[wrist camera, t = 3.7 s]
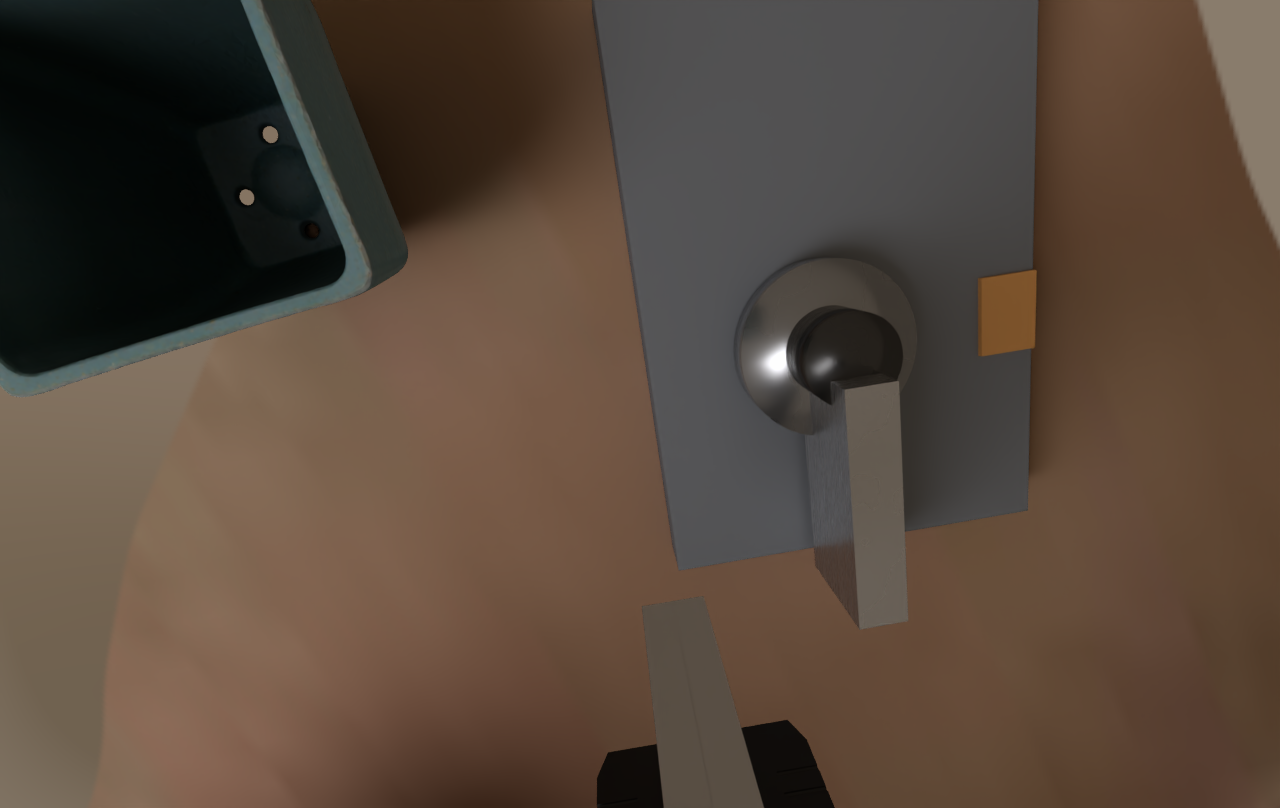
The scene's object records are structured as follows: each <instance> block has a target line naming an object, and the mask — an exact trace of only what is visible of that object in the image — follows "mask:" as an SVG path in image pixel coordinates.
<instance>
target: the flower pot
mask: <svg viewBox="0 0 1280 808" xmlns="http://www.w3.org/2000/svg"><path fill="white" fill-rule="evenodd" d="M267 126H272V127H274V128H275V129H276V130H277V132H278V139H277V141H276V142H275V143H268V142H267V141H266V140H265V139H264V138H263V130H264V128H265V127H267ZM244 189H247V190H250V191H251V192H252V193H253V194H254V202H253V204H251V205H245V204H243V203H242V202H241V200H240V198H239V195H240V192H241V191H242V190H244ZM309 223H312V224H315V225H316V226H317V227H318V228H319V234H318V236H317V237H315V238H310V237H308V236H307V235H306V234H305V232H304V229H305V226H306V225H307V224H309ZM407 258H408V249H407V244H406V241H405V237H404V234H403V232H402V229H401V227H400V224H399V222H398V220H397V217H396V215H395V212H394V210H393V207H392V205H391V202H390V200H389V197H388V195H387V192H386V190H385V187H384V185H383V182H382V179H381V177H380V174H379V172H378V169H377V167H376V164H375V161H374V159H373V156H372V154H371V151H370V149H369V146H368V144H367V141H366V138H365V136H364V133H363V131H362V128H361V125H360V123H359V120H358V118H357V115H356V113H355V110H354V107H353V105H352V102H351V100H350V97H349V95H348V92H347V89H346V87H345V84H344V82H343V79H342V76H341V74H340V71H339V69H338V66H337V63H336V61H335V58H334V55H333V52H332V50H331V47H330V44H329V42H328V39H327V37H326V34H325V31H324V29H323V26H322V23H321V21H320V19H319V17H318V15H317V12H316V10H315V8H314V6H313V4H312V2H311V0H0V386H1V387H2V388H3V389H4V390H5V391H6V392H7V393H9V394H10V395H12V396H16V397H27V396H33V395H37V394H41V393H45V392H48V391H51V390H54V389H56V388H59V387H62V386H65V385H67V384H70V383H73V382H77V381H80V380H83V379H86V378H89V377H92V376H95V375H99V374H102V373H105V372H108V371H111V370H114V369H118V368H120V367H123V366H125V365H129V364H132V363H135V362H139V361H142V360H145V359H149V358H151V357H155V356H158V355H161V354H164V353H167V352H170V351H173V350H177V349H180V348H184V347H187V346H190V345H194V344H196V343H199V342H202V341H206V340H209V339H213V338H216V337H219V336H223V335H226V334H229V333H232V332H235V331H238V330H242V329H245V328H248V327H252V326H255V325H258V324H262V323H265V322H268V321H272V320H275V319H279V318H282V317H286V316H289V315H292V314H295V313H298V312H303V311H306V310H309V309H312V308H317V307H320V306H325V305H329V304H332V303H335V302H339V301H342V300H345V299H348V298H351V297H354V296H357V295H359V294H361V293H363V292H366V291H367V290H369V289H371V288H373V287H375V286H377V285H378V284H380V283H382V282H383V281H385V280H387V279H389V278H390V277H392V276H393V275H395V274H396V273H398V272H399V271H400V270H401V269H402V268H403V267H404V265H405V264H406V261H407Z"/></svg>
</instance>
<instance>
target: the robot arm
mask: <svg viewBox="0 0 1280 808" xmlns="http://www.w3.org/2000/svg"><path fill="white" fill-rule="evenodd" d="M642 612H643V621H644V630H645V639H646V648H647V658H648V667H649V676H650V685H651V694H652V703H653V712H654V722H655V731H656V740H657V744H655V745H649V746H643V747H637V748H632V749H626V750H620V751H614V752H608V754H607V756H606V758H605V761H604V763H603V765H602V768H601V770H600V772H599V775H598V777H597V808H835V807H834V805H833V803H832V800H831V798H830V795H829V793H828V791H827V790H826V786H825V783H824V781H823V778H822V776H821V773H820V771H819V770H818V768H817V764H816V761H815V759H814V756H813V754H812V751H811V749H810V747H809V744H808V742H807V739H806V738H805V737H804V736H803V735H802V734H801V733H800V732H799V731H798V730H797V729H796V728H795V727H794V726H793V725H792V724H791V723H790V722H789V721H788V720H784V721H778V722H772V723H766V724H761V725H755V726H749V727H743V728H741V726H740V723H739V719H738V716H737V712H736V709H735V705H734V702H733V698H732V695H731V691H730V688H729V684H728V681H727V677H726V674H725V670H724V667H723V663H722V660H721V656H720V653H719V649H718V646H717V642H716V639H715V635H714V632H713V628H712V625H711V621H710V618H709V614H708V611H707V607H706V604H705V600H704V597H703V596H701V597H695V598H689V599H683V600H677V601H671V602H665V603H659V604H653V605H647V606H642Z"/></svg>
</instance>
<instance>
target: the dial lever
mask: <svg viewBox="0 0 1280 808" xmlns="http://www.w3.org/2000/svg"><path fill="white" fill-rule="evenodd" d="M916 349H917V329H916V322H915V318H914V314H913V311H912V309H911V306H910V303H909V301H908V300H907V298H906V296H905V294H904V293H903V291H902V290H901V289H900V287H899V286H898V285H897V284H896V283H895V282H894V281H893V280H892V279H891V278H890V277H889V276H888V275H886V274H885V273H883V272H882V271H881V270H879V269H877V268H875V267H873V266H871V265H869V264H866V263H864V262H861V261H857V260H852V259H844V258H812V259H807V260H802V261H799V262H796V263H793V264H790V265H788V266H786V267H784V268H782V269H780V270H778V271H777V272H776V273H774V274H773V275H771V276H770V277H768V278H767V279H766V280H765V281H764V282H763V283H762V284H761V285H760V286H759V287H758V288H757V289H756V290H755V292H754V293H753V294H752V295H751V297H750V298H749V300H748V301H747V303H746V304H745V306H744V308H743V310H742V312H741V314H740V317H739V320H738V323H737V326H736V331H735V335H734V345H733V352H734V362H735V368H736V372H737V375H738V378H739V380H740V382H741V385H742V387H743V389H744V390H745V392H746V393H747V395H748V396H749V398H750V399H751V400H752V401H753V402H754V403H755V404H756V405H757V406H758V407H759V408H760V409H761V410H762V411H763V412H764V413H765V414H766V415H767V416H768V417H769V418H771V419H772V420H773V421H774V422H776V423H778V424H779V425H781V426H782V427H784V428H787V429H789V430H791V431H794V432H797V433H801V434H805V445H806V457H807V469H808V481H809V493H810V505H811V518H812V530H813V542H814V554H815V566H816V567H817V569H818V570H819V572H820V573H821V575H822V576H823V577H824V579H825V580H826V582H827V583H828V585H829V586H830V588H831V589H832V590H833V592H834V593H835V595H836V596H837V598H838V599H839V601H840V602H841V603H842V605H843V606H844V608H845V609H846V611H847V612H848V614H849V615H850V617H851V618H852V619H853V621H854V622H855V624H856V625H857V627H858V628H859V630H860V629H866V628H872V627H877V626H883V625H889V624H894V623H900V622H905V621H908V604H907V578H906V552H905V525H904V499H903V473H902V447H901V421H900V395H899V394H900V392H901V391H902V389H903V387H904V386H905V384H906V382H907V380H908V378H909V375H910V373H911V371H912V368H913V364H914V361H915V356H916Z"/></svg>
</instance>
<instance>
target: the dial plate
mask: <svg viewBox="0 0 1280 808" xmlns="http://www.w3.org/2000/svg"><path fill="white" fill-rule="evenodd" d="M592 13H593V19H594V26H595V33H596V39H597V46H598V53H599V59H600V66H601V73H602V79H603V86H604V93H605V99H606V106H607V112H608V119H609V126H610V132H611V139H612V146H613V152H614V159H615V166H616V172H617V179H618V186H619V192H620V199H621V205H622V212H623V219H624V225H625V232H626V239H627V245H628V252H629V259H630V265H631V272H632V279H633V285H634V292H635V299H636V305H637V312H638V318H639V325H640V332H641V338H642V345H643V352H644V358H645V365H646V372H647V378H648V385H649V392H650V398H651V405H652V412H653V418H654V425H655V431H656V438H657V445H658V451H659V458H660V465H661V471H662V478H663V485H664V491H665V498H666V505H667V511H668V518H669V524H670V531H671V538H672V544H673V549H674V553H675V557H676V561H677V564H678V568H679V570H685V569H691V568H697V567H703V566H708V565H714V564H720V563H726V562H732V561H737V560H743V559H749V558H755V557H761V556H766V555H772V554H778V553H784V552H789V551H795V550H801V549H807V548H813V547H814V542H813V530H812V518H811V505H810V493H809V481H808V469H807V457H806V445H805V434H801V433H797V432H794V431H791V430H789V429H787V428H784V427H782V426H781V425H779V424H778V423H776V422H774V421H773V420H772V419H771V418H769V417H768V416H767V415H766V414H765V413H764V412H763V411H762V410H761V409H760V408H759V407H758V406H757V405H756V404H755V403H754V402H753V401H752V400H751V399H750V398H749V396H748V395H747V393H746V392H745V390H744V389H743V387H742V385H741V382H740V380H739V378H738V375H737V372H736V368H735V362H734V352H733V345H734V335H735V331H736V326H737V323H738V320H739V317H740V314H741V312H742V310H743V308H744V306H745V304H746V303H747V301H748V300H749V298H750V297H751V295H752V294H753V293H754V292H755V290H756V289H757V288H758V287H759V286H760V285H761V284H762V283H763V282H764V281H765V280H766V279H767V278H768V277H770V276H771V275H773V274H774V273H776V272H777V271H778V270H780V269H782V268H784V267H786V266H788V265H790V264H793V263H796V262H799V261H802V260H807V259H812V258H844V259H852V260H857V261H861V262H864V263H866V264H869V265H871V266H873V267H875V268H877V269H879V270H881V271H882V272H883V273H885V274H886V275H888V276H889V277H890V278H891V279H892V280H893V281H894V282H895V283H896V284H897V285H898V286H899V287H900V289H901V290H902V291H903V293H904V294H905V296H906V298H907V300H908V301H909V303H910V306H911V309H912V311H913V314H914V318H915V322H916V329H917V349H916V356H915V361H914V364H913V368H912V371H911V373H910V375H909V378H908V380H907V382H906V384H905V386H904V387H903V389H902V391H901V392H900V394H899V395H900V421H901V447H902V473H903V499H904V525H905V531H911V530H917V529H923V528H929V527H934V526H940V525H946V524H952V523H958V522H963V521H969V520H975V519H981V518H987V517H992V516H998V515H1004V514H1010V513H1016V512H1021V511H1027V510H1028V474H1029V426H1030V377H1031V348H1035V324H1036V279H1037V270H1033V231H1034V182H1035V134H1036V85H1037V37H1038V0H592Z"/></svg>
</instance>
